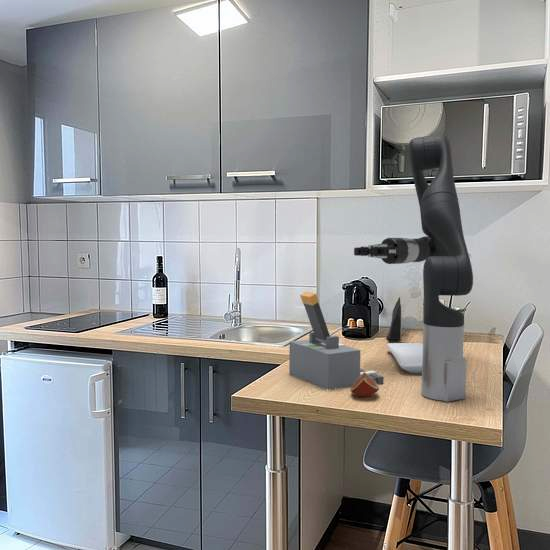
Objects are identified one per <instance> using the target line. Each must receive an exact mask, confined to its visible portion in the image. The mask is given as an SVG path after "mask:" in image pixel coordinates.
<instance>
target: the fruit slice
mask: <svg viewBox="0 0 550 550" xmlns="http://www.w3.org/2000/svg"><path fill="white" fill-rule="evenodd" d="M379 390H380V387H379V384H377V383H376V382H375V381H374V380H373V379H372V378H371V377H370V376H369V375H367V374H366V373H365V372H364V373H363V374H362V375H361V376H360V377H358V378H357V380H356V381H355V383H354V385H353V386H351V387H350V392H351V393H352V394H353V395H355V396H356V397H359V398H361V397H362V398H364V397H369V396H373V395H374V394H376V393H378V391H379Z"/></svg>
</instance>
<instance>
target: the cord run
mask: <svg viewBox="0 0 550 550" xmlns="http://www.w3.org/2000/svg"><path fill="white" fill-rule="evenodd" d="M364 372H365V373H366V374H367V375H369V376H370V377H371V378H372V379H373V380H374V381H375V382H376V383H377V385H383V384H384V376H382V375H380V374H378V372H377V371H376V370H368V371H367V370H364V369H361V368H360V376H361V375H362V374H363V373H364Z"/></svg>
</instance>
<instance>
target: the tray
mask: <svg viewBox="0 0 550 550" xmlns="http://www.w3.org/2000/svg"><path fill="white" fill-rule="evenodd" d="M386 346H387V348H388V349H389V351H390V353H391V354H392V355H393V357H394V358H395V360H396V363H398V365H399V367H400V368H401V369H403V370H404V371H405V372H407V373H408V372H409V373H408V374H422V354H423V342H422V343H421V342H420V343H419V342H418V343H417V342H410V343H409V342H391V343H389V342H388V343H386Z"/></svg>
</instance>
